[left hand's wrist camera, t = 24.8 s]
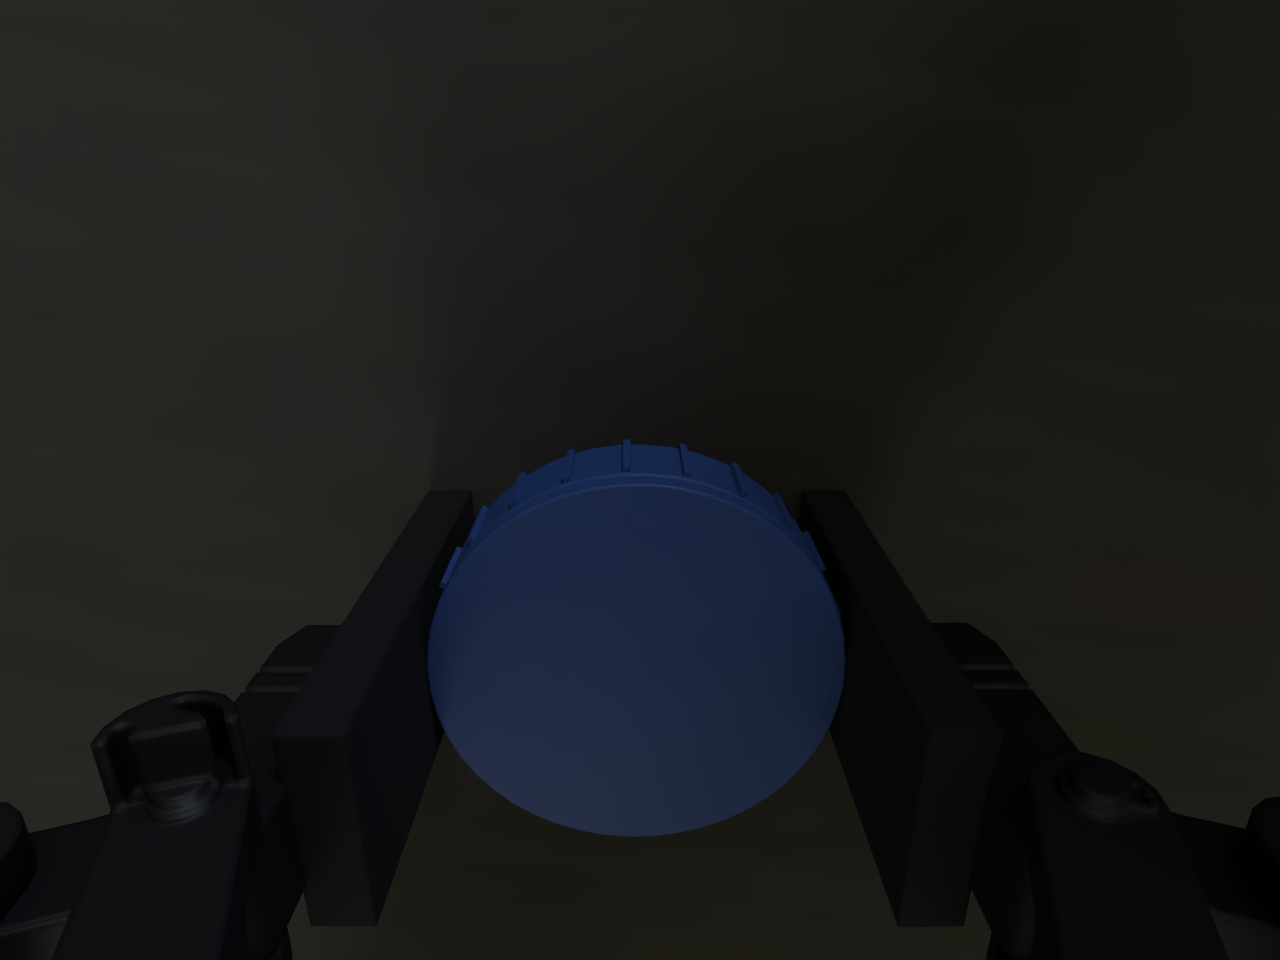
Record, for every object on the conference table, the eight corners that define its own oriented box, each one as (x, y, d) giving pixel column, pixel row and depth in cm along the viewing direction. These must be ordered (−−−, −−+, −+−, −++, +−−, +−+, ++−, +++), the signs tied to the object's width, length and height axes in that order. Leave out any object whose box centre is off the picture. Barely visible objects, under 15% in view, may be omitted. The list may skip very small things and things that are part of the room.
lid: (904, 564, 12) (942, 620, 11) (687, 817, 14) (694, 896, 13) (571, 359, 11) (561, 391, 10) (382, 666, 13) (348, 733, 12)
